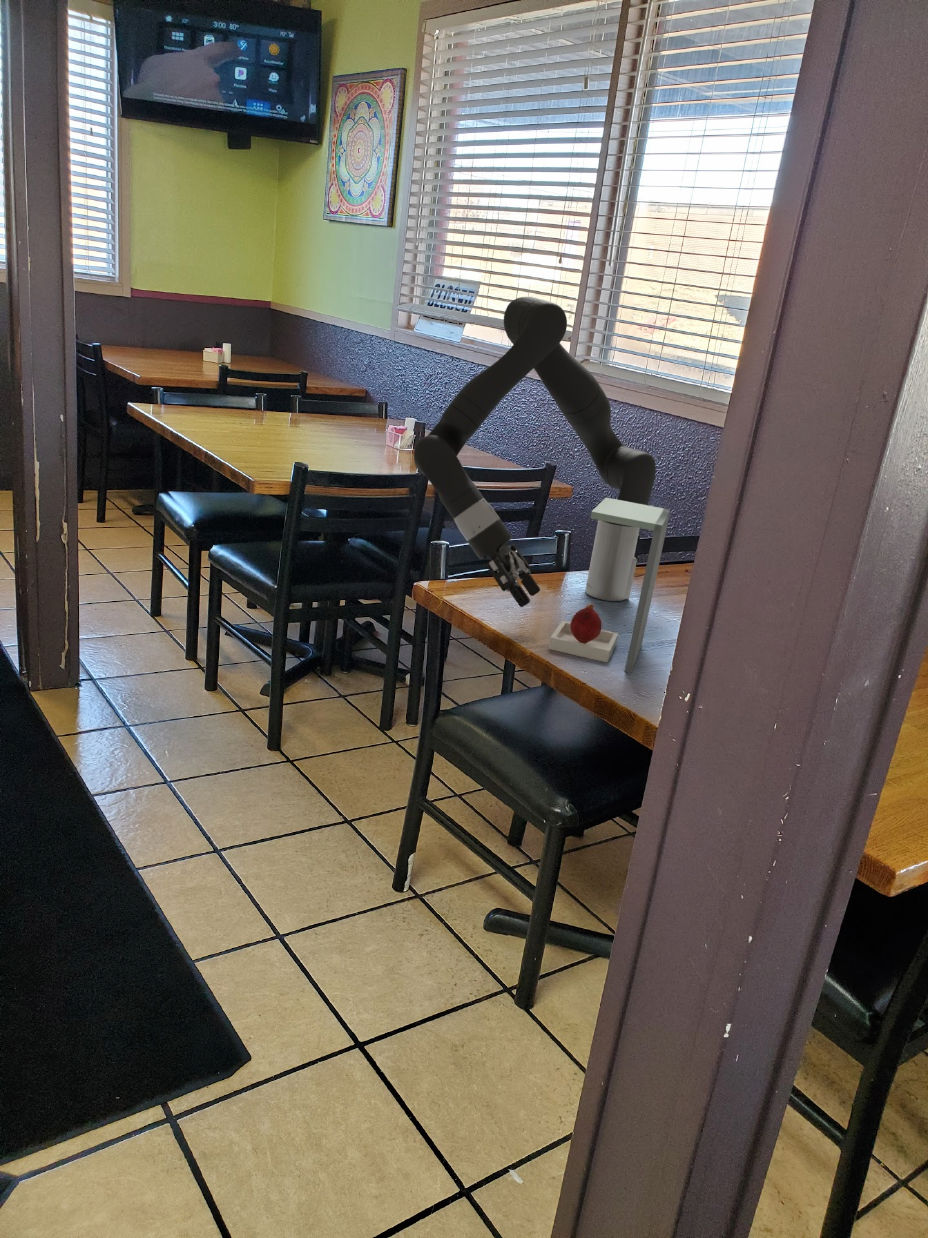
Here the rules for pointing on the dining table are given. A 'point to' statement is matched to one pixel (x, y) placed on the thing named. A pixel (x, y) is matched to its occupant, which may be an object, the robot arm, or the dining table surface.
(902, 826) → the dining table surface
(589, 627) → the onion
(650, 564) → the inverted l bracket
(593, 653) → the tray
